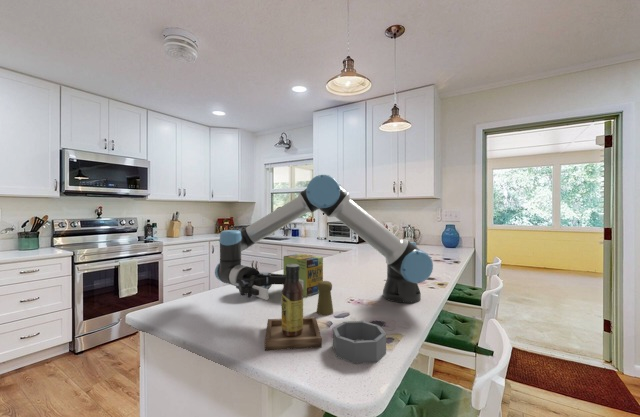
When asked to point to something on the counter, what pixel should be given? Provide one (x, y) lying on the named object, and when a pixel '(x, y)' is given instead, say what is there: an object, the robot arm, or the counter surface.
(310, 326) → the tray
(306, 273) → the protein box
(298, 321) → the sauce bottle
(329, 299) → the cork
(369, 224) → the robot arm
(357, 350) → the holder cup
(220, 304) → the counter surface
